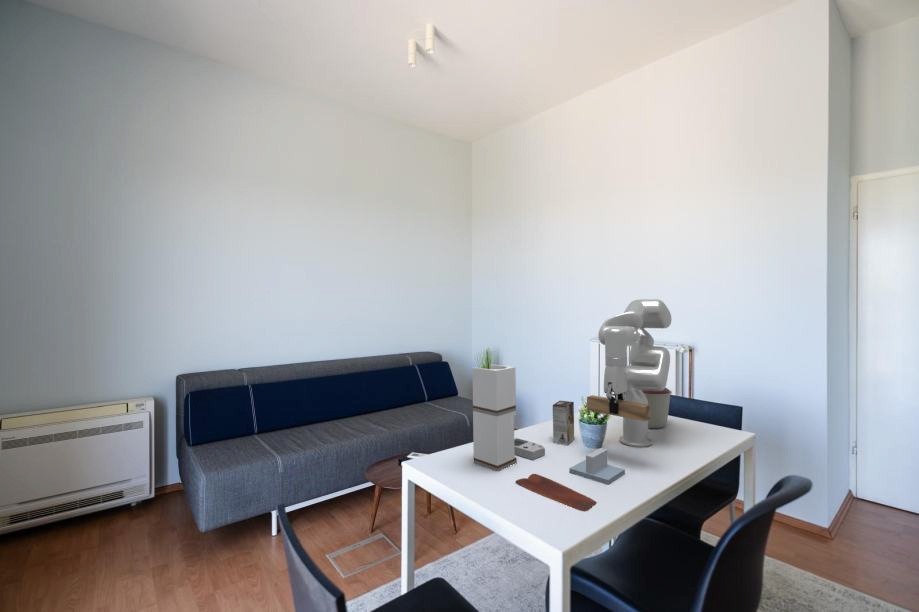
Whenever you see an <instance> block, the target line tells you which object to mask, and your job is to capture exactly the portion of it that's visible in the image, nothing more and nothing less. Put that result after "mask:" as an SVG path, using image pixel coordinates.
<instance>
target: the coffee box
mask: <svg viewBox="0 0 919 612" xmlns="http://www.w3.org/2000/svg"><path fill="white" fill-rule="evenodd" d="M574 403H575V402H574V401H568V400H558V401H557V402H555V403H554V404H552V435H553V436H552V437H553V438H552V439H553V440H552V442H553V444H555V443H557V445H563V446H569V445H570V444H571V443H572V442H573V441H574V440H575V405H574Z"/></svg>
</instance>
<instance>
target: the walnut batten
mask: <svg viewBox="0 0 919 612" xmlns="http://www.w3.org/2000/svg"><path fill="white" fill-rule="evenodd" d="M617 403H618V414H613V413H610V412H609V399H608V398H607V397H606V396H601V395H600V396H599V395H594V394H593V395H589V396H586V411H589V412H594V413H595V412H596V413H600V414H605V415H611V416H616V417H621V418H623V417H625V418H630V419H635V420H640V421H647V420H649V419H650V405H648V404H642V403H636V402H630V401H624V400H618V399H617Z"/></svg>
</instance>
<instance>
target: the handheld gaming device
mask: <svg viewBox="0 0 919 612" xmlns="http://www.w3.org/2000/svg"><path fill="white" fill-rule="evenodd" d="M514 453H515V456H520V457H522V458H525V459H529V460H532V461H533V460H536V459H539V458H540V457H543V456H545V455H546V448H545V446H543V445H542V444H539V443H536V442H533V441H529V440H525V439H523V438H518V437H514Z"/></svg>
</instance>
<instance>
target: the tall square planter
mask: <svg viewBox="0 0 919 612" xmlns="http://www.w3.org/2000/svg"><path fill="white" fill-rule="evenodd" d="M489 367H490V368H482V367H475V366H474V367H471V368H472V369H471V370H472V372H471V373H472V427H473V429H472V430H473V431H472V433H473V435H472V437H473V441H472V442H473V464H475V465H477V464H478V465H477V466H480V465H481V467H483V466H484V467H483V468H486V467H487V468H486V469H488V468H489V470H491V469H492V471H494V470H495V472H497V471H498V472H500V471H502V469H503V470H505V469H507V468H509V467H511V466H510V465H512V466H513V464H514V465H516V464H518V463H517V459H518V458H517V457H516V455H515V453H514V439H515V416H516V415H517V397H516V396H517V394H516V392H517V389H516V388H517V387H516V385H517V383H516V381H517V380H516V372H517V371H516V367H515V366H509V365H503V364H502V365H500V364H492V363H491V364H489ZM515 463H516V464H515ZM508 466H509V467H508ZM506 467H507V468H506ZM504 468H505V469H504Z"/></svg>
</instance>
